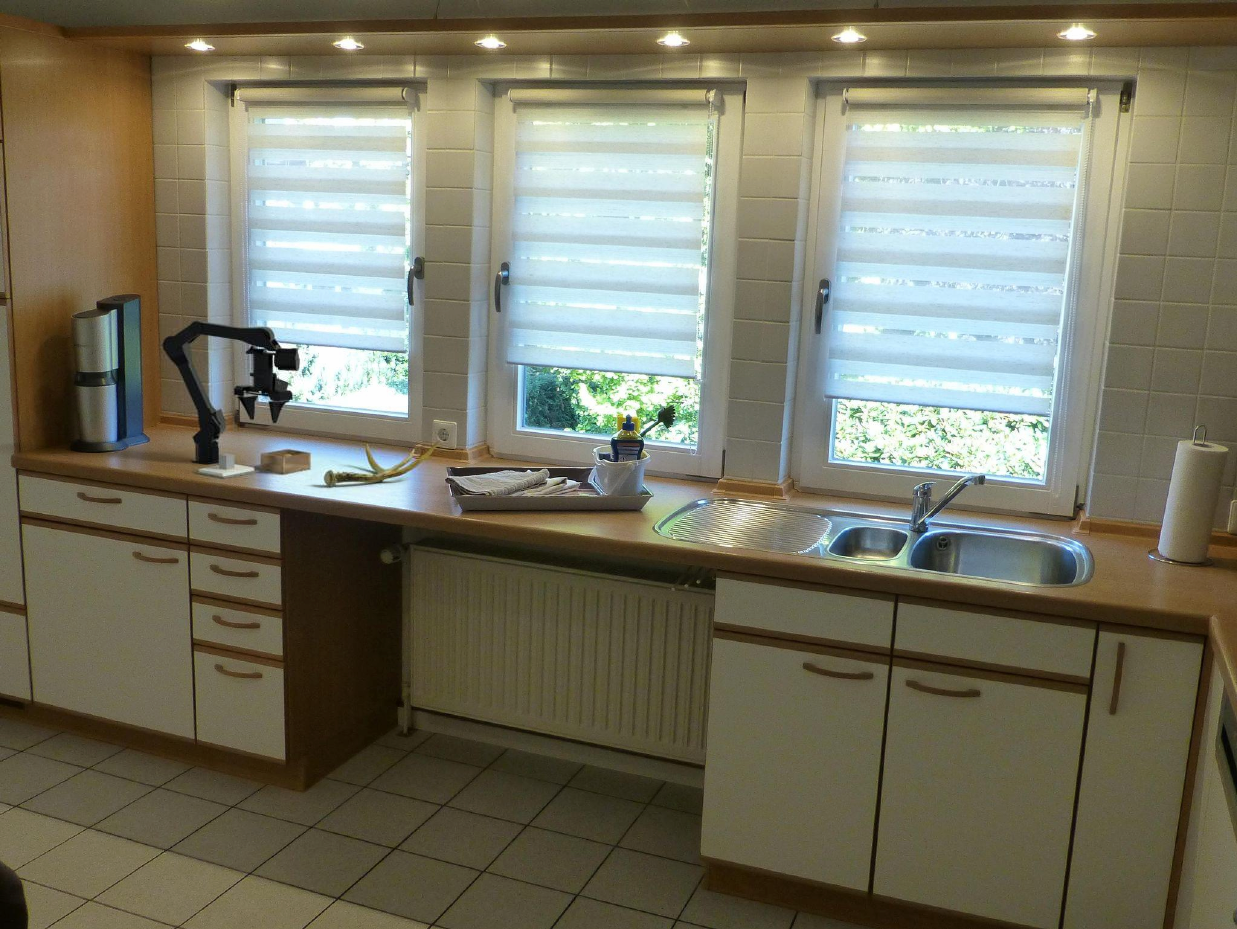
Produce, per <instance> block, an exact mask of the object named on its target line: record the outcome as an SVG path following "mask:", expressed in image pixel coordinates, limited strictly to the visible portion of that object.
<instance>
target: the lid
mask: <svg viewBox="0 0 1237 929" xmlns="http://www.w3.org/2000/svg"><path fill="white" fill-rule="evenodd" d="M235 461H236V460H235V454H231V453H222V454H219V462H218V465H213V466H210V467H209V466H208V467H203V468H199V469H198V471H199V472H202V473H208V474H213V475H218V476H228V475H233V474H239V473H244V472H249V471H254V470H255V467H252V466H251V467H250V466H246V465H240V464H236V463H235Z"/></svg>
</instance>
